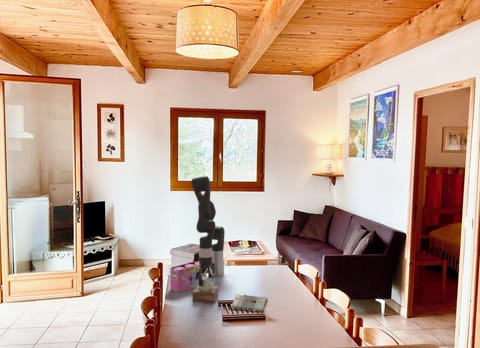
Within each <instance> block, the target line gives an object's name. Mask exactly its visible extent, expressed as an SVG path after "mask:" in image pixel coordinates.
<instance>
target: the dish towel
mask: <svg viewBox="0 0 480 348" xmlns="http://www.w3.org/2000/svg"><path fill="white" fill-rule="evenodd" d="M246 300H256V303H253V302H250V301H248V302H246ZM268 300H269V299H268V298H267V297H264V296H257V295H256V296H255V295H247V294H243V295H241V294H236V295H235V297H234V300H233V302H232V303H231V306H230V309H231V308H237V309H248V310H255V311H261V312H260V313H264V311H265V309H266V306H267V303H268Z"/></svg>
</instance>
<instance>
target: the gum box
mask: <svg viewBox="0 0 480 348" xmlns="http://www.w3.org/2000/svg"><path fill="white" fill-rule="evenodd" d="M200 266H201V265H200V264H199V260H194V261H192V262H187V263H184V264H180V265H176V266H171V267H170V291H173V292H176V293H182V292H185V291H187V290H191V289H193V288H194V289H195V288H196V287H197V285H199V279H196V269H197V268H200ZM201 274H203V273H201ZM198 277H199V275H198ZM201 277H202V276H201ZM204 277H207V274H205V276H204Z"/></svg>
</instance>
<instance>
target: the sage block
mask: <svg viewBox="0 0 480 348" xmlns="http://www.w3.org/2000/svg"><path fill="white" fill-rule="evenodd" d="M211 281H212V282H213V277H212V278H209V277H208V276H206V277H203V286H199V289H200V290H203V291H207V290H209V289H211V286H212V282H211Z"/></svg>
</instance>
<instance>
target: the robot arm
mask: <svg viewBox="0 0 480 348" xmlns="http://www.w3.org/2000/svg"><path fill="white" fill-rule="evenodd" d="M190 184H191V187H192V190H193V192H194V195H195V197H196V199H197V203H198V205H197V207H198V209H197V210H198V218H197V219H198V220H197V223H196V232H198V233H200V234H205V233H206V235H204V236H201V237H200V238H199V250H198V261H199V264H200V265H201V266H200V268H197V269H196V279H199V286H203V277H204V276H205V274H206V275H207V277H209V278H212V279H213V278H215V277H217V278H218V277H223V276H224V274H225V260H224V248H225V247H224V246H225V232H226V231H225V228H224V227H223V226H216V222H215V221H214V219H215V218H216V214H217V211H216V207H215V205H214V202H213V201H212V200H211V188H212V187H211V181H210V177H209V176H208V175H202V176H198V177H197V176H196V177H194V178H192V179H191V181H190ZM202 192H204V193H202ZM213 241H217V242H216V243H214V244H213ZM201 273H203V274H201ZM198 275H199V277H198ZM201 276H202V277H201ZM212 282H213V280H212V281H211V283H212Z"/></svg>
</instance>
